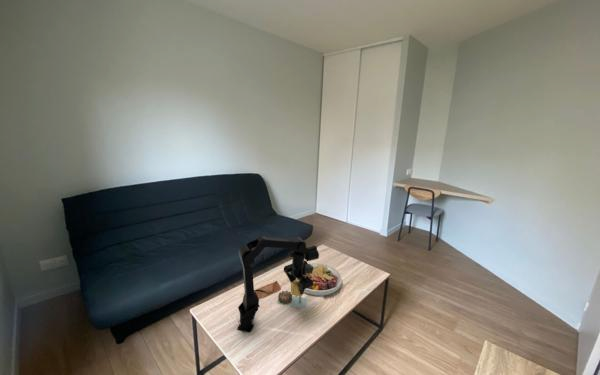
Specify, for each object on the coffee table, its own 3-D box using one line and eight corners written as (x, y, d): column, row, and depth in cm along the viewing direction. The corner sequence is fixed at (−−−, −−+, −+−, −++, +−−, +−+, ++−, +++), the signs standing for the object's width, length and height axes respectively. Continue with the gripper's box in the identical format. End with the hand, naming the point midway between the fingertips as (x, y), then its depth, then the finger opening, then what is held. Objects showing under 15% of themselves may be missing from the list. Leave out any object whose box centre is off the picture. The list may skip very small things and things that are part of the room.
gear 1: (290, 305, 126) (290, 299, 125) (276, 303, 127) (276, 296, 126) (293, 296, 133) (293, 290, 132) (280, 294, 134) (280, 288, 133)
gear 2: (295, 298, 117) (295, 289, 116) (288, 291, 123) (288, 282, 122) (306, 293, 121) (307, 284, 120) (299, 286, 126) (299, 278, 125)
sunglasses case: (257, 303, 128) (254, 291, 129) (252, 303, 133) (249, 291, 134) (285, 291, 139) (281, 279, 140) (279, 291, 144) (275, 280, 146)
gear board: (305, 310, 124) (305, 300, 123) (276, 305, 127) (276, 296, 126) (307, 300, 132) (308, 291, 131) (280, 296, 135) (280, 287, 133)
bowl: (282, 280, 149) (282, 269, 148) (316, 264, 169) (316, 254, 167) (317, 306, 127) (317, 293, 126) (351, 285, 147) (352, 273, 145)
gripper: (322, 266, 115) (321, 295, 119) (301, 250, 130) (300, 276, 134) (303, 273, 109) (303, 303, 113) (283, 256, 124) (283, 283, 128)
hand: (297, 290), depth 122 cm, fingers closed on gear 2, 7 cm apart
